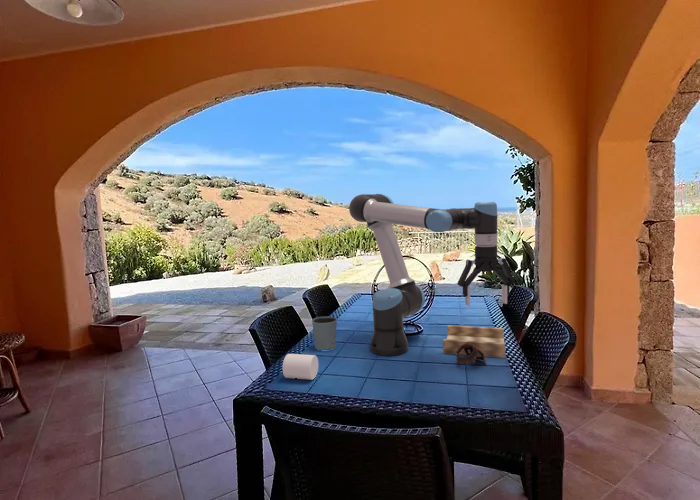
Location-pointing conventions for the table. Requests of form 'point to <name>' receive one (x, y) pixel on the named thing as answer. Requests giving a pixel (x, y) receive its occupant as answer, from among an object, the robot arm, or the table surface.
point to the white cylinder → (300, 366)
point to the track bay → (475, 340)
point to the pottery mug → (470, 354)
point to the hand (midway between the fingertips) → (486, 304)
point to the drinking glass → (324, 332)
